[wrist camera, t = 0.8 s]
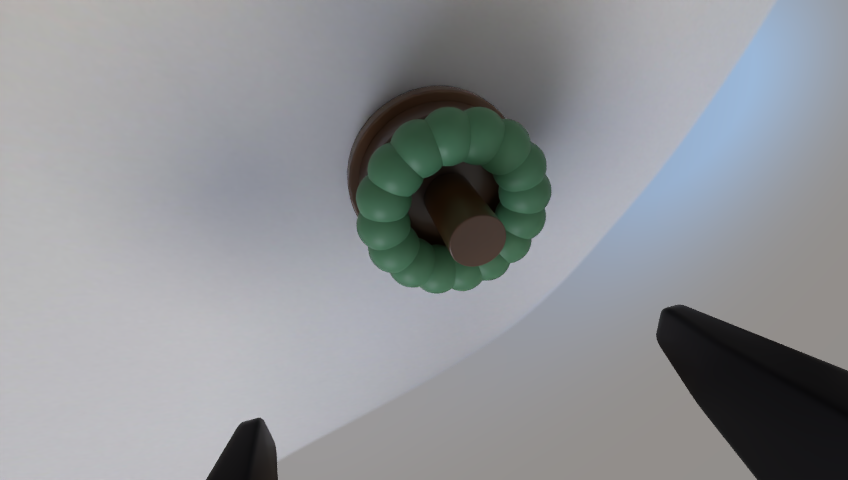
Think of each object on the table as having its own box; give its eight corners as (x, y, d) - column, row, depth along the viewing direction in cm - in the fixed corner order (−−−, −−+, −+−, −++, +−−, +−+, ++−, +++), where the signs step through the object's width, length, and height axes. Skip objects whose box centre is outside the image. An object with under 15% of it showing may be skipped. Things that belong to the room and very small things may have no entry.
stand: (515, 226, 22) (578, 300, 17) (367, 263, 21) (386, 352, 16) (511, 69, 18) (591, 104, 13) (327, 105, 17) (337, 159, 12)
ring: (536, 252, 20) (557, 277, 18) (374, 293, 19) (380, 323, 17) (537, 80, 16) (564, 92, 14) (330, 122, 15) (333, 141, 13)
